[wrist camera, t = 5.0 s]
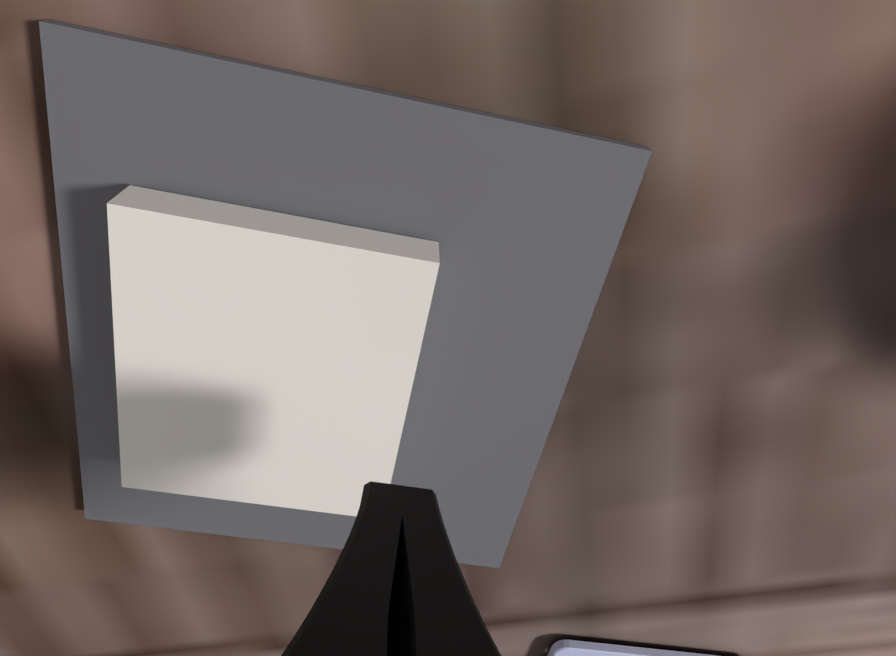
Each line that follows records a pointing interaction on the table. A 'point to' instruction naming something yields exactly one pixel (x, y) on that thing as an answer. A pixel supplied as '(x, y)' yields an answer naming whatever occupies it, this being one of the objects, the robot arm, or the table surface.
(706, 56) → the table surface
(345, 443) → the tile
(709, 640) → the table surface
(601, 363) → the table surface
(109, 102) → the mat
